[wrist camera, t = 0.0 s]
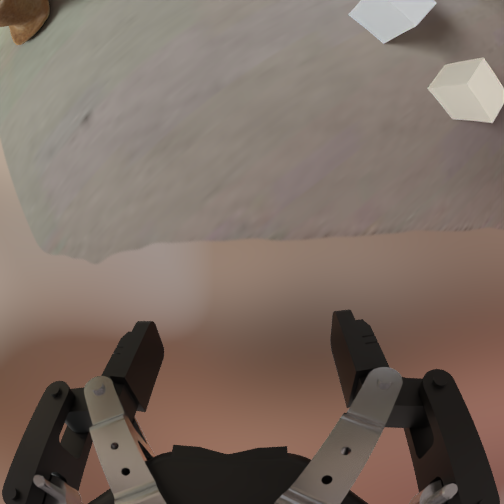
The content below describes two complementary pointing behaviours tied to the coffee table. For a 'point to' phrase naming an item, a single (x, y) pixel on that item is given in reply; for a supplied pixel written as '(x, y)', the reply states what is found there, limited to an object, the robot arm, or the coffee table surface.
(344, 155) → the coffee table surface
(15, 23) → the brown boot-shaped piece
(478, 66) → the cover
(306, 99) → the coffee table surface
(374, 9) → the cover
